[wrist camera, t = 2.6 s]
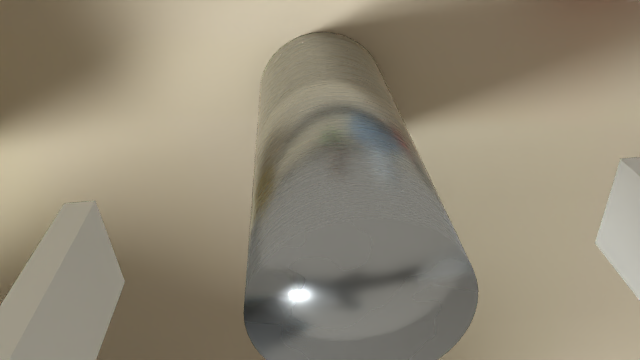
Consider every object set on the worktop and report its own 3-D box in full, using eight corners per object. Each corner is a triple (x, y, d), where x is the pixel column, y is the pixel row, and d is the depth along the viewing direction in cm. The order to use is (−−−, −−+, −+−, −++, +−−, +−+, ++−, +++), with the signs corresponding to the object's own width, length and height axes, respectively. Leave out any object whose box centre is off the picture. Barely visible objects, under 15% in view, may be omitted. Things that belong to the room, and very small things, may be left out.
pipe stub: (267, 151, 22) (259, 396, 12) (252, 37, 20) (225, 231, 10) (381, 141, 22) (466, 376, 12) (382, 27, 20) (491, 207, 10)
